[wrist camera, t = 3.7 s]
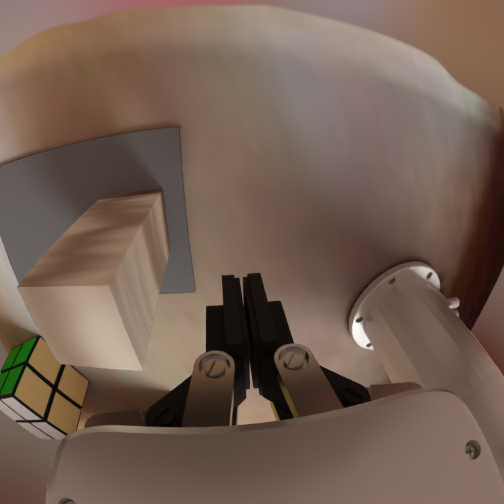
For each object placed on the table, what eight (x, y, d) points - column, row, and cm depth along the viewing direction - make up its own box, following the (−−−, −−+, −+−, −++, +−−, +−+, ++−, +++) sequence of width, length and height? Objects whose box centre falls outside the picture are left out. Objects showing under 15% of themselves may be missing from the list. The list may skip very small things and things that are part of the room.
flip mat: (179, 126, 18) (178, 126, 17) (195, 288, 25) (195, 292, 24) (-13, 170, 16) (-16, 172, 15) (26, 293, 23) (24, 295, 22)
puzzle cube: (55, 389, 32) (40, 439, 23) (11, 348, 27) (-13, 399, 18) (91, 380, 31) (76, 441, 22) (39, 333, 26) (11, 395, 17)
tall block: (162, 188, 20) (109, 285, 9) (170, 248, 22) (142, 370, 12) (102, 195, 19) (17, 286, 9) (115, 252, 21) (59, 363, 11)
